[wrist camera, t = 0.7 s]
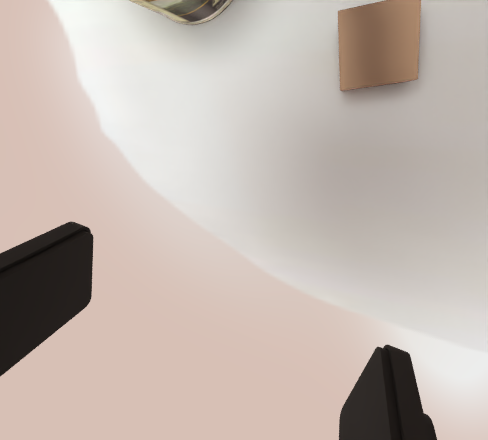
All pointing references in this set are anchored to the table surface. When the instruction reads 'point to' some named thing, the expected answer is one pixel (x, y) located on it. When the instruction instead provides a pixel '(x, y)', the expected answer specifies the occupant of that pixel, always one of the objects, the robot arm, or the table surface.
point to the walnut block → (379, 43)
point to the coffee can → (186, 9)
